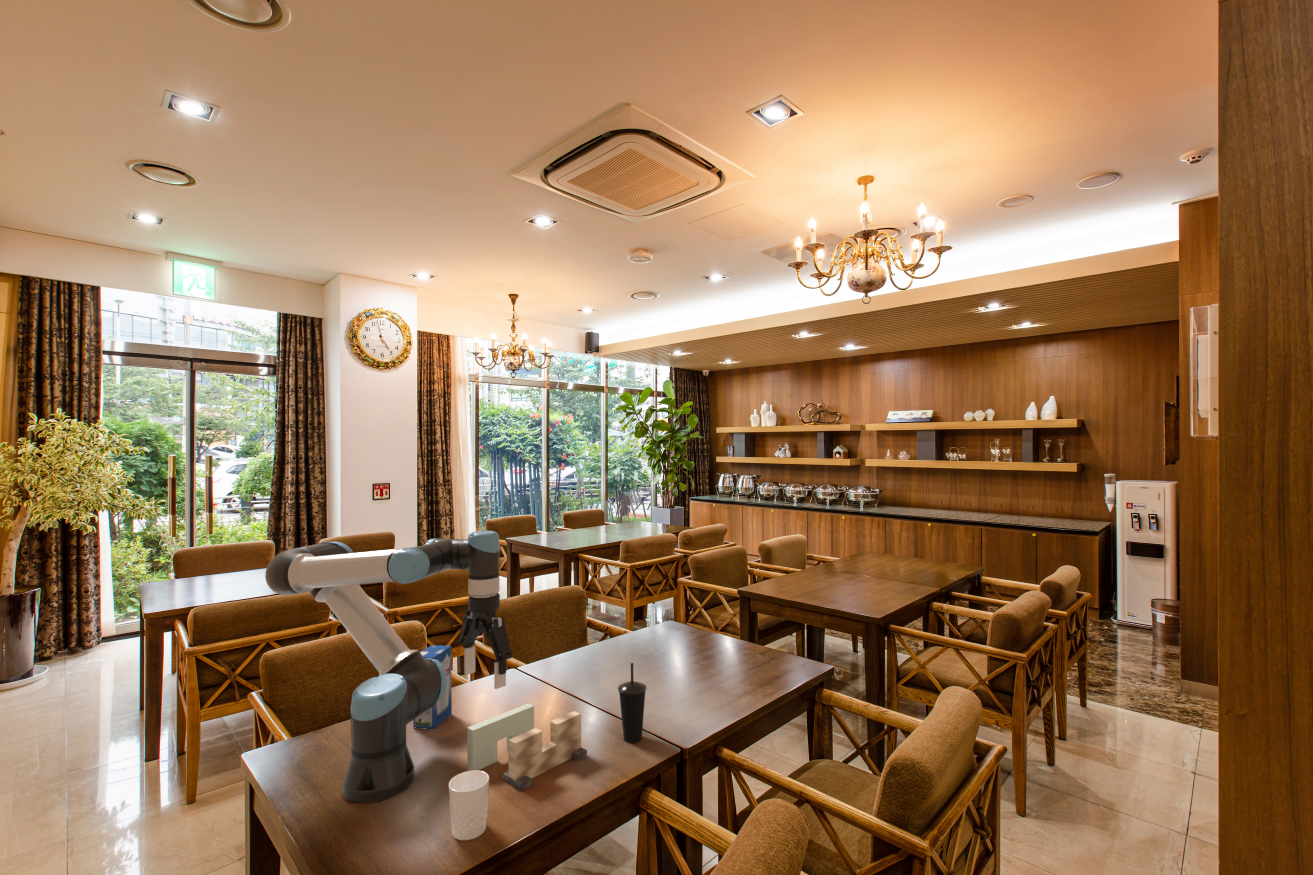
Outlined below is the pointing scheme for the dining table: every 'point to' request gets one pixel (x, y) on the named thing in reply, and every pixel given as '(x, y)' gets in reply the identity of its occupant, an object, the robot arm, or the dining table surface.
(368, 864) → the dining table surface
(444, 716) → the milk carton
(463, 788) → the white cup
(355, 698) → the robot arm
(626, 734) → the drinking cup
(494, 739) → the sage board
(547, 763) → the maple board
